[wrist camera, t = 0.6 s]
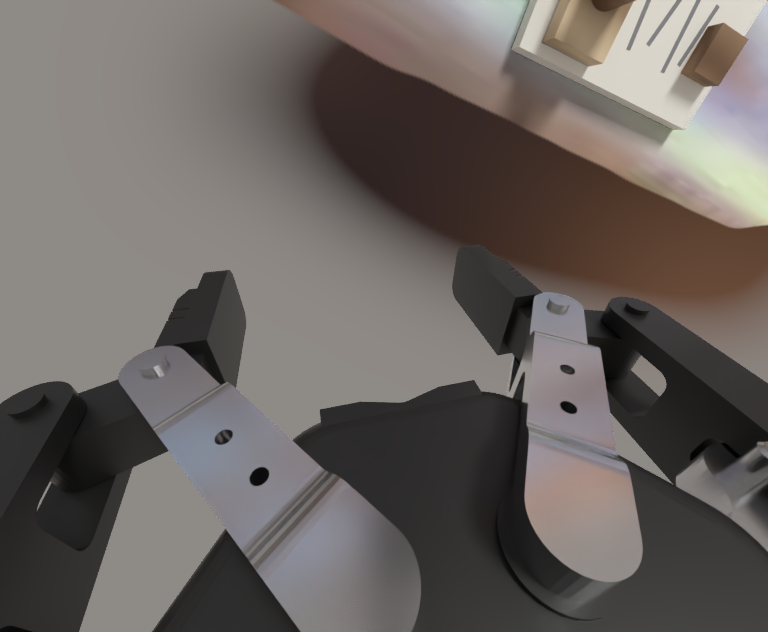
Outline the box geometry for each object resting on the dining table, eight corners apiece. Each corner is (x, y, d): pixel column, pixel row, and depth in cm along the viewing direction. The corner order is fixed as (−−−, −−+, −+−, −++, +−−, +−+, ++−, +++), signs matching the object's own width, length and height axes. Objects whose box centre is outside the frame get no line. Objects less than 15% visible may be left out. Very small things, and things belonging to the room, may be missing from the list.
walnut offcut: (707, 26, 32) (723, 22, 31) (731, 42, 34) (748, 39, 32) (680, 73, 34) (694, 71, 33) (704, 86, 35) (718, 85, 34)
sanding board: (592, -165, 25) (606, -180, 24) (767, -23, 33) (785, -29, 31) (511, 49, 32) (519, 46, 30) (672, 129, 39) (684, 129, 38)
